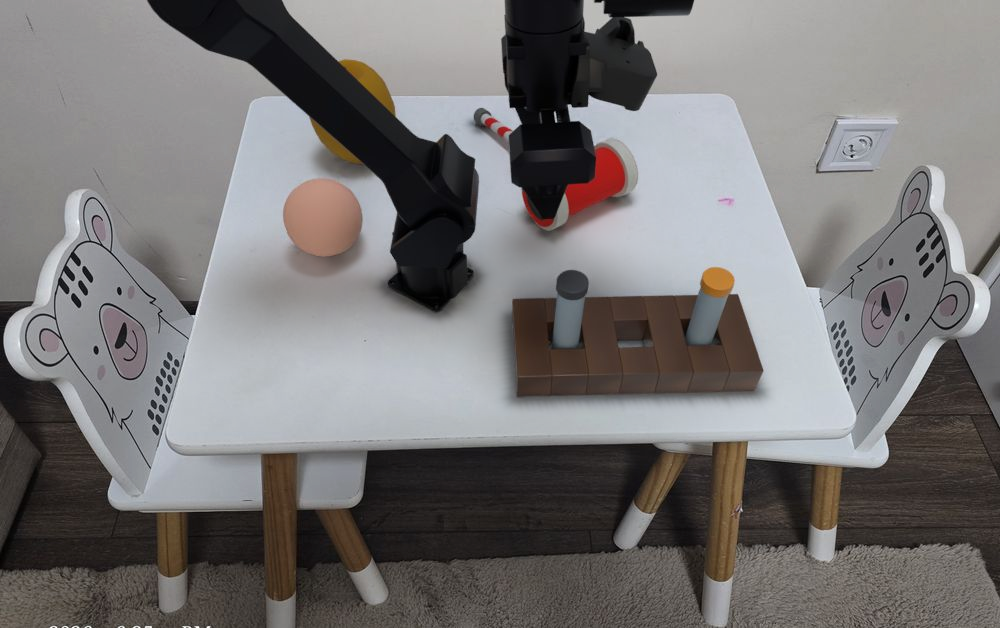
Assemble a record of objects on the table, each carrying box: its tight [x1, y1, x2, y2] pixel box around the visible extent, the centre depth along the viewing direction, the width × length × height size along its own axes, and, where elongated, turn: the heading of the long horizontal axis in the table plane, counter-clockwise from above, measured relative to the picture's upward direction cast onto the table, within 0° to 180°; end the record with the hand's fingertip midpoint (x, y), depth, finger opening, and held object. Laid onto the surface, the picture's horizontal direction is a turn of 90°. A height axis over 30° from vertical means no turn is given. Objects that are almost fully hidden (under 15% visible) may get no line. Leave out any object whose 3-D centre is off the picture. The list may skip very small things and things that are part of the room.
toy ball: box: [282, 177, 364, 257], centre depth 77 cm, size 8×8×8 cm
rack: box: [511, 293, 764, 397], centre depth 70 cm, size 22×9×3 cm, turn 92°
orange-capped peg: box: [685, 266, 736, 346], centre depth 67 cm, size 3×3×10 cm
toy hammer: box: [473, 107, 639, 231], centre depth 87 cm, size 23×12×6 cm, turn 35°
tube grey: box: [551, 269, 590, 349], centre depth 67 cm, size 3×3×10 cm
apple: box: [308, 58, 397, 165], centre depth 86 cm, size 10×10×12 cm
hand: (544, 183), depth 67 cm, fingers open, 9 cm apart
